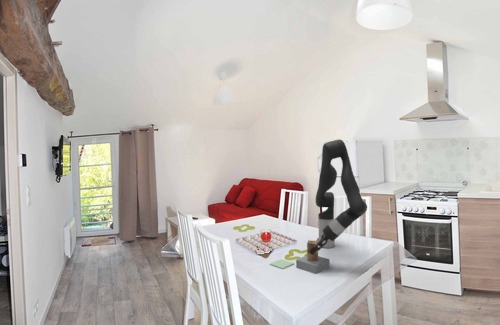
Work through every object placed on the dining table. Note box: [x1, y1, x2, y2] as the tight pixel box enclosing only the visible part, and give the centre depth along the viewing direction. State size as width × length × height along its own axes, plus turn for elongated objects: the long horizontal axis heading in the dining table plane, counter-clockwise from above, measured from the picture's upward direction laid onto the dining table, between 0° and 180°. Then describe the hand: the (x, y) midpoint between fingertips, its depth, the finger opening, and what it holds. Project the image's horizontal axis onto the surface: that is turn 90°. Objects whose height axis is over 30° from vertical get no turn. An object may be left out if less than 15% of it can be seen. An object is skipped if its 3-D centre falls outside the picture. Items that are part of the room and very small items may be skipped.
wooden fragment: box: [256, 250, 273, 259], centre depth 193 cm, size 26×11×1 cm, turn 176°
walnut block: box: [306, 239, 319, 261], centre depth 165 cm, size 5×5×9 cm
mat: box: [269, 258, 295, 270], centre depth 170 cm, size 9×9×1 cm
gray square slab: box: [295, 255, 331, 275], centre depth 165 cm, size 12×12×4 cm
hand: (311, 250), depth 165 cm, fingers open, 8 cm apart
